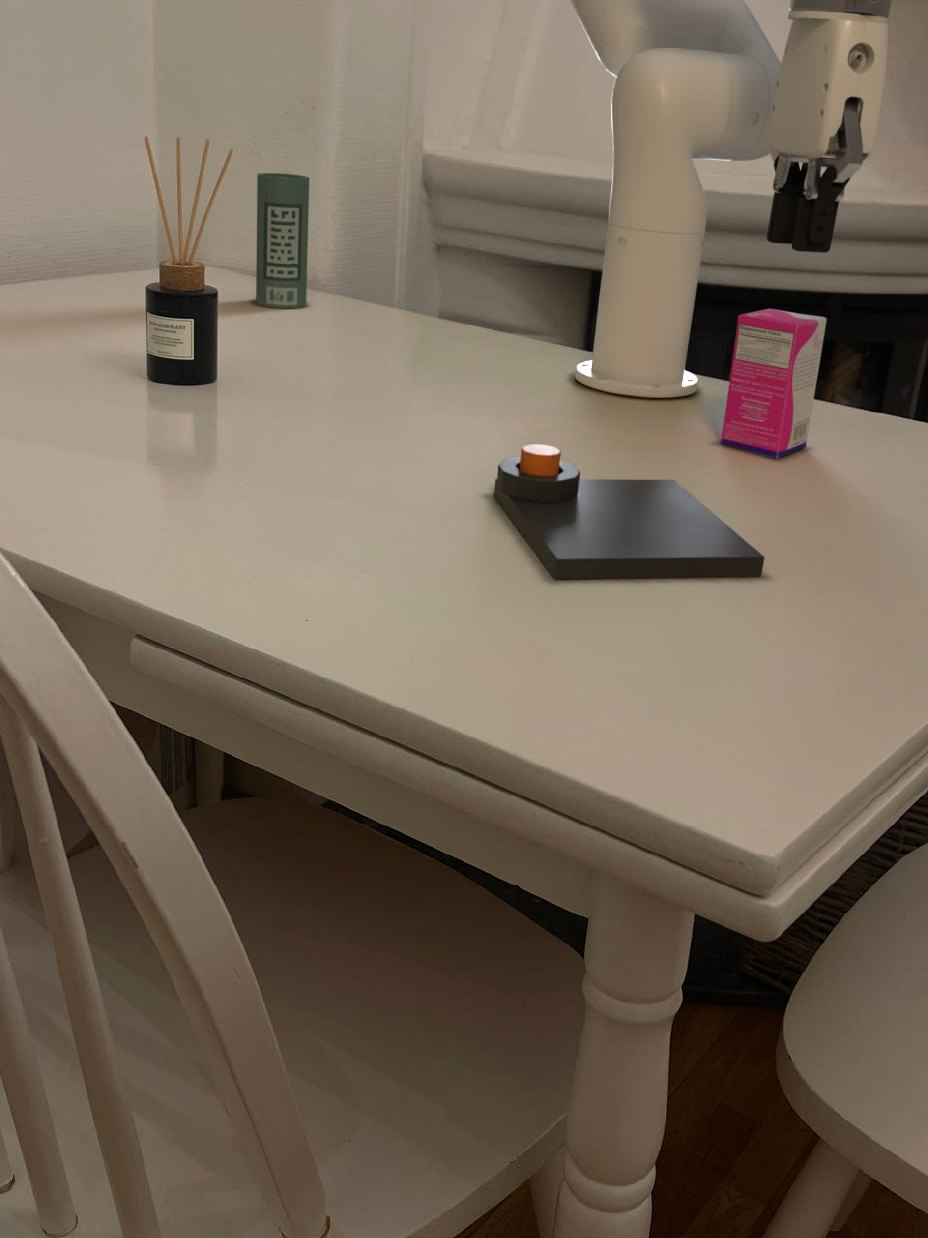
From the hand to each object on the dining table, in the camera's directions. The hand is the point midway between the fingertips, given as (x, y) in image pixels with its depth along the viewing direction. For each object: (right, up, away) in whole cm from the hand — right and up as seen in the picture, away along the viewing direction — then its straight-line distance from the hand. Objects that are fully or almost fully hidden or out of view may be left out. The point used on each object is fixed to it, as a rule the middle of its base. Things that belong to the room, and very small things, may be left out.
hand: (797, 244), depth 104 cm
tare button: (-22, -21, -15) cm, 34 cm away
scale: (-17, -25, -17) cm, 35 cm away
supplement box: (-1, -16, +7) cm, 17 cm away
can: (-50, +8, +52) cm, 73 cm away
